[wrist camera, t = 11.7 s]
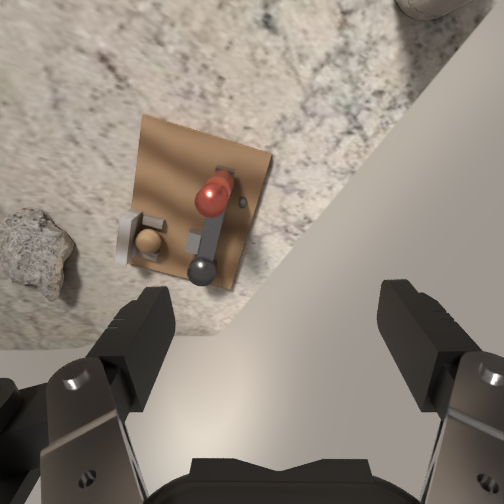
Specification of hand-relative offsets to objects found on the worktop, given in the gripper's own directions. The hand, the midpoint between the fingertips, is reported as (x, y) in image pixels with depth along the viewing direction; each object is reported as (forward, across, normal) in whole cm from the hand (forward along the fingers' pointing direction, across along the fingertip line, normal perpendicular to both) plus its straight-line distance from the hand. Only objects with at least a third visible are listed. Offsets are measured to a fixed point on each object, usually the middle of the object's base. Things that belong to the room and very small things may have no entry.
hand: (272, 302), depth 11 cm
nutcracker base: (+32, +11, +6) cm, 35 cm away
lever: (+30, +9, +8) cm, 32 cm away
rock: (+32, +37, +12) cm, 51 cm away
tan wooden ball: (+31, +18, +9) cm, 37 cm away
